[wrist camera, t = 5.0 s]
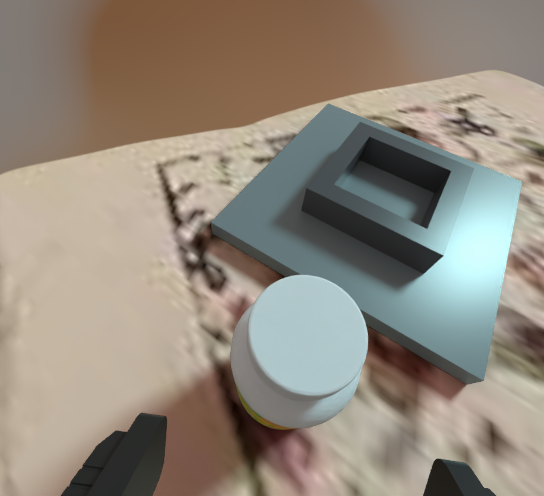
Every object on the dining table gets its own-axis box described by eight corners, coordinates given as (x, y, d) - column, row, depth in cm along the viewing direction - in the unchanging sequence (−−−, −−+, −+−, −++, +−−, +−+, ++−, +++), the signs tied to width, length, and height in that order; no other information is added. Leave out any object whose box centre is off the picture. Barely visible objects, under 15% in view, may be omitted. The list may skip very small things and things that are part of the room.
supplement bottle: (217, 392, 17) (187, 353, 9) (267, 317, 19) (280, 233, 11) (297, 452, 15) (350, 473, 7) (339, 363, 18) (413, 306, 10)
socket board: (509, 193, 28) (545, 159, 24) (467, 384, 18) (517, 373, 15) (325, 116, 32) (334, 79, 29) (212, 233, 23) (206, 199, 19)
